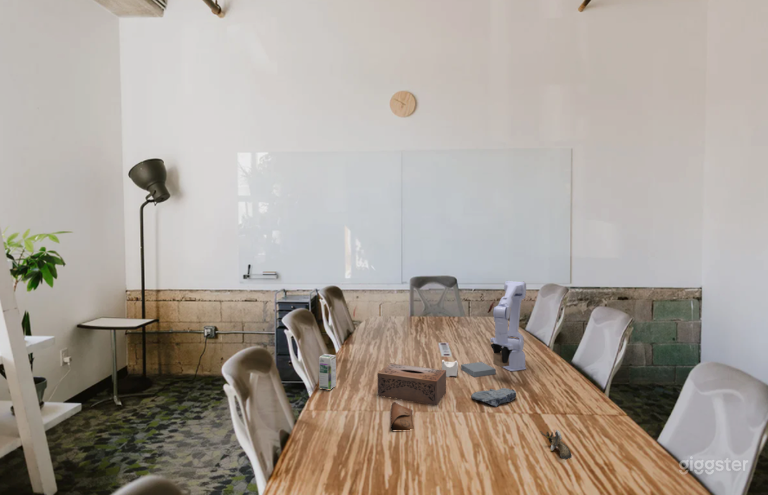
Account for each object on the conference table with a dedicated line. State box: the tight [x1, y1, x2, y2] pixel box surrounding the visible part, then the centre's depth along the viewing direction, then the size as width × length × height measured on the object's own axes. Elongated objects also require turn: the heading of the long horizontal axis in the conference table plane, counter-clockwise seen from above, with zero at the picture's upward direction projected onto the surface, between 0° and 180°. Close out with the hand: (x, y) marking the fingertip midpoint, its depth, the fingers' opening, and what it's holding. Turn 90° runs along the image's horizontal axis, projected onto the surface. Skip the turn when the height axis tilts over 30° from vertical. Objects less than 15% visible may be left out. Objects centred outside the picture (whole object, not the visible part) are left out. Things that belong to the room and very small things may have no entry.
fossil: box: [470, 387, 517, 408], centre depth 170 cm, size 13×18×4 cm
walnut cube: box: [492, 352, 509, 368], centre depth 192 cm, size 5×5×5 cm
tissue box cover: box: [377, 362, 447, 406], centre depth 176 cm, size 26×14×10 cm, turn 67°
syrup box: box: [318, 353, 337, 390], centre depth 183 cm, size 6×6×14 cm
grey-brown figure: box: [539, 429, 572, 460], centre depth 129 cm, size 8×7×9 cm
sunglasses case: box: [390, 401, 415, 431], centre depth 152 cm, size 18×7×7 cm
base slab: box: [460, 361, 497, 378], centre depth 204 cm, size 12×12×2 cm
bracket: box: [441, 359, 459, 378], centre depth 203 cm, size 13×7×8 cm, turn 168°
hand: (501, 361), depth 192 cm, fingers closed on walnut cube, 5 cm apart
